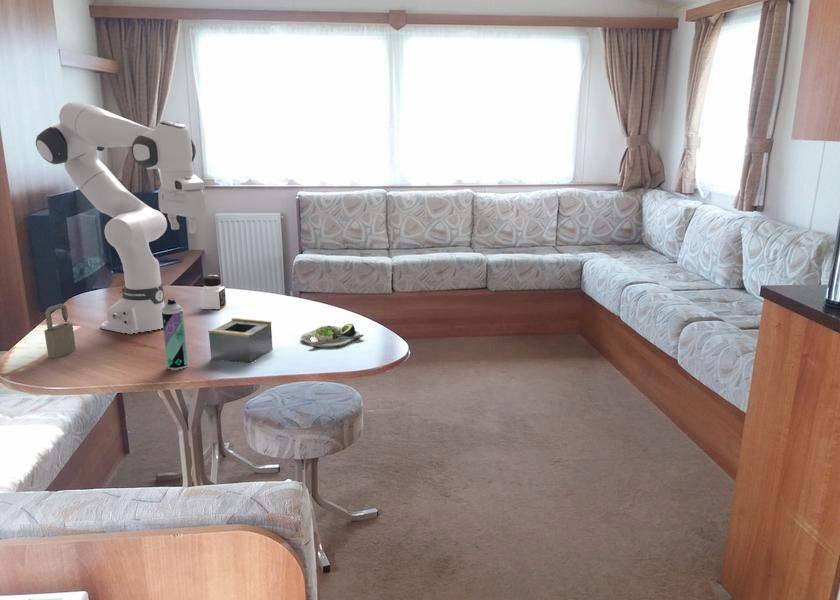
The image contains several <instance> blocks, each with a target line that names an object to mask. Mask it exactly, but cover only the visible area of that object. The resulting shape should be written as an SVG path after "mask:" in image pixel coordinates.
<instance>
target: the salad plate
mask: <svg viewBox="0 0 840 600" xmlns="http://www.w3.org/2000/svg"><path fill="white" fill-rule="evenodd" d="M315 335H316V336H315ZM313 336H315V337H316V339H317V341H312V339H311V340H310V338H311V337H313ZM364 336H365V335H364V334H360V331H357V330H356V327H355V326H354V324H353V323H346V324H345V325H343V326H342V327H340V326H335V325H326V326H325V325H324V326H320V327H318V328H316V329H313V330H310V331H309V332H306V333H303V334H301V336H300V340H301V341H302V342H303V343H305V344H306V345H308V344H309V345H308V346H310V347H316V346H317V348H336V347H337V346H339V347H343V346H345V345H348V344H350V343H353V342H355V341H357V340H359V339H360V338H362V337H364ZM313 338H314V337H313ZM354 340H355V341H354ZM352 341H353V342H352ZM349 342H350V343H349ZM347 343H348V344H347ZM342 345H343V346H342ZM337 348H338V347H337Z"/></svg>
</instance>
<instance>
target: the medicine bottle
mask: <svg viewBox="0 0 840 600" xmlns="http://www.w3.org/2000/svg"><path fill="white" fill-rule="evenodd" d="M202 282H203V283H202V284H203V289H201V290H200V291H199V293H200V295H199V297H200V306H201V310H202V309H219V310H218V311H221V310H222V309H223V308H224V307H225V306H226V305H227V298H226V287H225V286H222V283H221V276H219V275H217V274H209V275H205V276H203V278H202ZM220 309H221V310H220Z"/></svg>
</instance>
